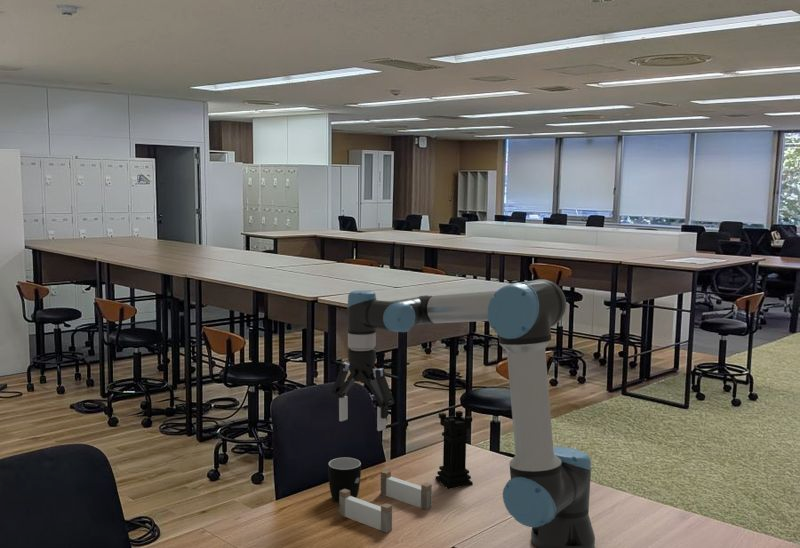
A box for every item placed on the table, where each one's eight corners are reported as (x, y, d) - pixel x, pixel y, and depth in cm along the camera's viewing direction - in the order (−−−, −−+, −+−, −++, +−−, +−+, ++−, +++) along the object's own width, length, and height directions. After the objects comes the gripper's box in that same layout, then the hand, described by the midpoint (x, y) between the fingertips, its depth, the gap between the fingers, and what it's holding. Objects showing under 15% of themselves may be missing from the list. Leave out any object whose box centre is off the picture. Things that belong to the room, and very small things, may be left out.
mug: (358, 506, 192) (358, 470, 191) (325, 504, 193) (325, 468, 192) (364, 488, 204) (364, 454, 203) (333, 486, 205) (333, 452, 204)
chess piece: (435, 478, 212) (436, 413, 210) (458, 474, 215) (460, 410, 213) (448, 489, 205) (450, 421, 203) (472, 484, 208) (474, 417, 206)
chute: (431, 507, 193) (431, 484, 192) (386, 532, 178) (387, 508, 177) (385, 491, 202) (385, 469, 202) (339, 514, 187) (339, 491, 187)
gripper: (407, 351, 188) (407, 430, 190) (337, 340, 203) (337, 413, 205) (389, 356, 182) (389, 437, 184) (318, 344, 197) (319, 419, 200)
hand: (362, 424), depth 195 cm, fingers open, 13 cm apart
